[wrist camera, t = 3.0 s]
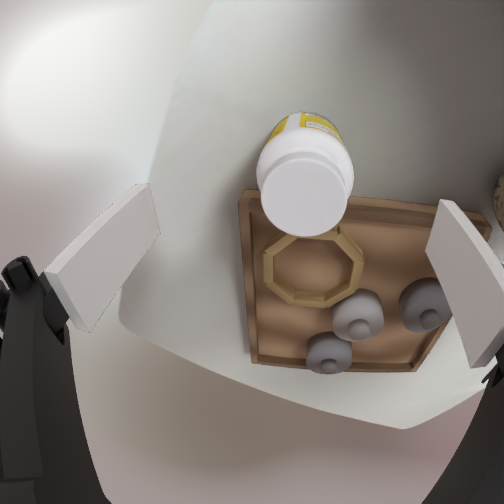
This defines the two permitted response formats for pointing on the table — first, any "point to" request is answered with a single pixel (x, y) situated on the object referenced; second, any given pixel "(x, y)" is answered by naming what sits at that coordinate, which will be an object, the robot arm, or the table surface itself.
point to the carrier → (344, 288)
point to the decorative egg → (499, 201)
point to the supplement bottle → (305, 175)
